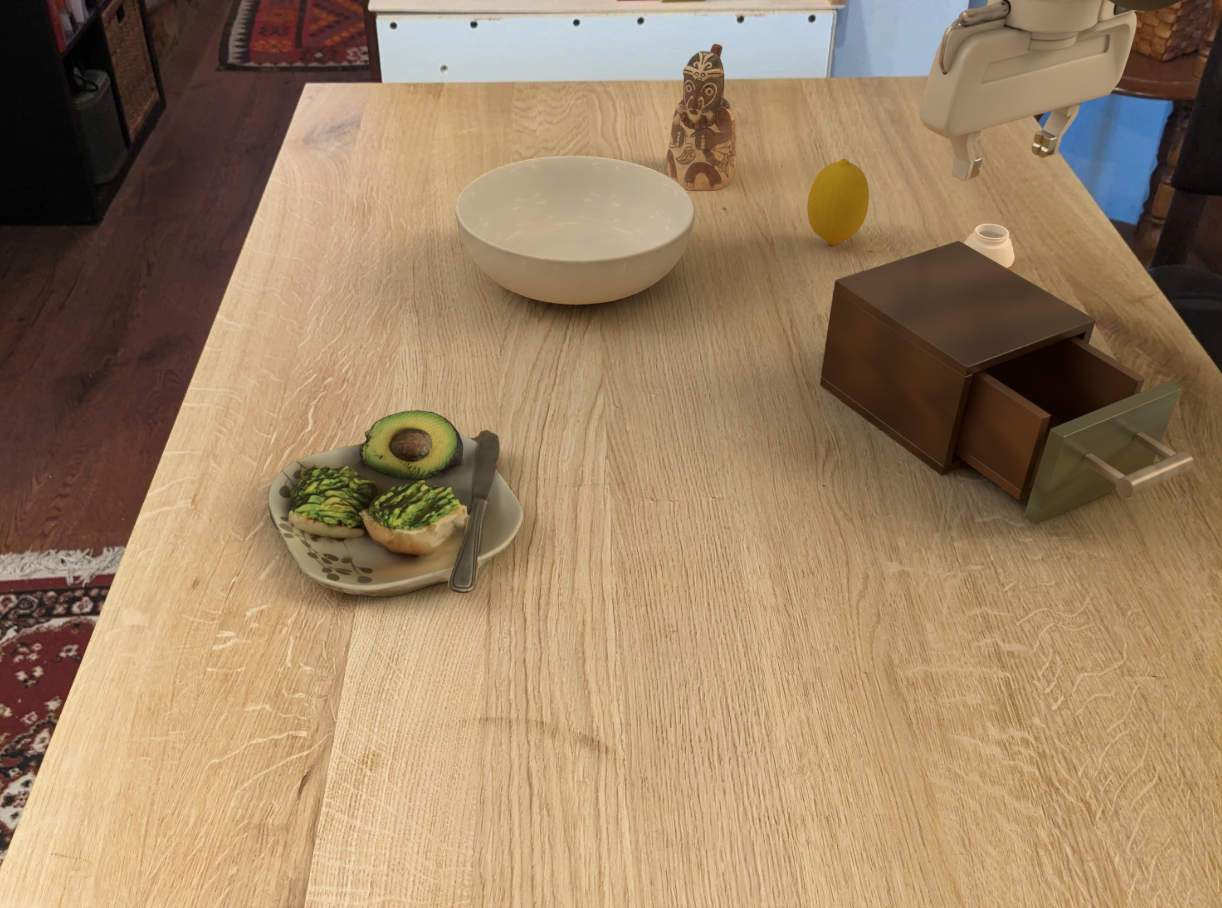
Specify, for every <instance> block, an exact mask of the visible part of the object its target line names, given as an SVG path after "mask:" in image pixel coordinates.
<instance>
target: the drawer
mask: <svg viewBox="0 0 1222 908" xmlns="http://www.w3.org/2000/svg"><path fill="white" fill-rule="evenodd" d="M1145 380H1146V377H1145V376H1143V375H1142V374H1140V373H1139V372H1136V371H1135V370H1133V369H1131V368H1130V367H1129V366H1127V365H1125V364H1123V363H1122V362H1120V361H1118V360H1117V359H1115V358H1113V357H1112V356H1110V355H1108V354H1106V353H1104V352H1103V351H1102V350H1100V349H1098V348H1097V347H1095V346H1093V345H1091V344H1090V343H1089V344H1088V343H1086V342H1085V341H1083V340H1081V339H1080V338H1078V337H1076V336H1073V337H1070V338H1068V339H1065V340H1062V341H1060V342H1057V343H1054V344H1051V345H1049V346H1046V347H1043V348H1041V349H1038V350H1035V351H1033V352H1030V353H1027V354H1024V355H1022V356H1019V357H1016V358H1014V359H1011V360H1008V361H1006V362H1003V363H1000V364H997V365H995V366H992V367H989V368H987V369H984V370H981V371H979V372H976V373H973V377H972V381H971V385H970V389H969V393H968V397H967V401H966V406H965V410H964V414H963V418H962V422H961V426H960V430H959V434H958V438H957V442H956V446H955V450H954V454H955V455H957V456H958V457H959V458H961V459H962V460H963V461H965V462H966V463H968V464H967V465H969V466H970V467H971V468H973V469H975V470H976V471H977V472H978V473H980V474H981V475H983V476H984V477H986V478H987V479H989V480H990V481H991V482H992V483H994V484H995V485H997V486H998V487H999V488H1001V489H1002V490H1003V491H1005V492H1007V494H1009V495H1010V496H1012V497H1013V498H1015V499H1016V500H1018V501H1020V500H1022V499H1025V498H1027V497H1029V498H1028V502H1027V505H1026V508H1025V511H1024V514H1023V517H1024V518H1025V519H1027V520H1028V521H1029V522H1031V524H1033V525H1036V526H1037V525H1039V524H1041V523H1044V522H1045V521H1048V520H1050V519H1053V518H1055V517H1057V516H1060V515H1062V514H1064V513H1067V512H1068V511H1070V510H1073V509H1075V508H1078V507H1080V506H1083V505H1085V504H1087V503H1089V502H1091V501H1094V500H1096V499H1098V498H1100V497H1102V496H1105V495H1108V494H1110V493H1112V492H1115V491H1116V492H1117V495H1119V496H1120V497H1121V498H1125V499H1126V498H1131V497H1133V496H1135V495H1138V494H1139V493H1141V492H1143V491H1144V492H1145V491H1146V490H1148V489H1150V488H1153V487H1155V486H1158V485H1160V484H1162V483H1164V482H1166V481H1168V480H1171V479H1173V478H1175V477H1178V476H1180V475H1182V474H1184V473H1187V472H1188V471H1189V472H1190V470H1192V468H1193V467H1194V463H1195V461H1194V457H1193V456H1192V454H1191V453H1189V452H1188V451H1185V450H1182V451H1179V452H1175V451H1174V450H1172V449H1171V448H1169V447H1167V446H1166V445H1164V444H1162V441H1163V438H1164V435H1165V433H1166V430H1167V428H1168V425H1169V422H1170V421H1171V417H1172V414H1173V412H1174V409H1175V407H1176V404H1177V401H1178V399H1179V396H1180V393H1181V391H1182V388H1180V387H1179V386H1178V385H1176V384H1174V383H1172V382H1170V381H1165V382H1162V383H1160V384H1157V385H1155V386H1153V387H1150V388H1148V389H1146V390H1143V391H1142V388H1143V385H1144V383H1145ZM1156 456H1157V457H1159V458H1160V459H1161V460H1159V461H1156V462H1154V461H1155V459H1156Z"/></svg>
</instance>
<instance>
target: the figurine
mask: <svg viewBox="0 0 1222 908" xmlns="http://www.w3.org/2000/svg"><path fill="white" fill-rule="evenodd" d="M722 52H723V46H722V45H721V44H719V43H713V44H712V45H711V47H710V51H709V50H700V51H698V52H696V53H695V54H693V56H691V57H690V58H689V61H688V62H687V64H686V65H685V66H684V67H683V69H682V75H683V86H682V89H683V90H682V99H681V101H679V103H678V105H677V106H676V108H675V110H674V114H673V118H672V123H671V130H670V138H669V144H668V149H667V153H666V156H665V159H666V163H665V164H666V165H665V169H666V172H667V176H668V177H670V178H672V179H673V180H674V181H676V182H677V183H679V184H680V185H681V186H682V187H683V188H684V189H685V190H686V191H687V190H688V191H716V190H719V189H722V188H725V187H727V186H728V185H730V184H731V183H732V181H733V179H734V177H735V174H736V170H737V164H738V163H737V162H738V157H737V156H738V153H737V150H738V149H737V130H736V118H735V114H734V111H733V108H732V106H731V104H730V103H729V101H728V100H727V99H726V98H725V97H724V94H725V71H724V65H723V61H722V59H721V56H722Z"/></svg>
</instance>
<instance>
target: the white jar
mask: <svg viewBox="0 0 1222 908" xmlns="http://www.w3.org/2000/svg"><path fill="white" fill-rule="evenodd" d="M963 243H964V244H966V245H967V246H969V247H971V248H972V249H974V250H976V251H978V252H979V253H981V254H983V255H985V256H986V257H988V258H990V259H991V260H993V261H995V262H997V263H998V264H1000V265H1002V266H1004V267H1005V268H1007V269H1009V268H1010V267H1011V266H1013V263H1014V262H1015V259H1016V255H1015V252H1014V248H1013V243H1012V240H1011V238H1010V232H1009V230H1008V229H1007V228H1006V227H1004V226H1002V225H1000V224H996V223H982V224H979V225H977V226H976V227H975V228H974V230H973V232H971V233H970V234H969V235H968V236H967V238H966V239H965V241H964V242H963Z"/></svg>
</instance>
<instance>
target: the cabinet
mask: <svg viewBox="0 0 1222 908" xmlns="http://www.w3.org/2000/svg"><path fill="white" fill-rule="evenodd" d="M831 297H832V299H831V305H830V312H829V318H828V324H827V332H826V338H825V343H824V344H825V345H824V350H823V351H824V352H823V359H822V365H821V371H820V378H819V379H820V380H819V385H820V386H821V387H822V388H823V389H825V390H826V391H828V392H829V393H830V394H832V395H833V396H834V397H836V398H837V399H838V400H839V401H840V402H842V403H844V404H845V405H847V406H848V407H849V408H850V409H852V410H853V411H854V412H856V413H857V414H859V415H860V416H861V417H862V418H864V419H865V420H867V421H868V422H869V423H871V424H873V426H874V427H876V428H878V430H880V431H882V432H883V433H884V434H886V435H887V436H888V437H890V438H891V439H892V440H894V441H895V442H896V443H897V444H899V445H901V446H902V447H903V448H904V449H906V450H907V451H908V452H910V453H911V454H912V455H914V456H915V457H916V458H918V459H919V460H920V461H922V462H923V463H924V464H926V465H927V466H929V468H931V469H933V471H936V472H937V473H938V474H939V475H941V476H943V475H945V474H947V473H950V472H953V471H955V470H957V469H960V468H963V467H965V466H967V465H969V464H968V463H966V462H965V461H963V460H962V459H961V458H959V457H958V456H957V455H955V454H954V450H955V446H956V442H957V438H958V434H959V430H960V426H961V422H962V418H963V414H964V410H965V406H966V401H967V397H968V393H969V389H970V385H971V381H972V377H973V373H976V372H979V371H981V370H984V369H987V368H989V367H992V366H995V365H997V364H1000V363H1003V362H1006V361H1008V360H1011V359H1014V358H1016V357H1019V356H1022V355H1024V354H1027V353H1030V352H1033V351H1035V350H1038V349H1041V348H1043V347H1046V346H1049V345H1051V344H1054V343H1057V342H1060V341H1062V340H1065V339H1068V338H1070V337H1073V336H1076V337H1078V338H1080V339H1081V340H1083V341H1085V342H1086V343H1088V344H1090V341H1091V337H1092V335H1093V331H1094V328H1095V324H1096V318H1094V317H1092V316H1090V315H1088V314H1087V313H1085V312H1083V311H1081V310H1080V309H1078V308H1077V307H1075V306H1073V305H1071V304H1070V303H1068V302H1066V301H1065V300H1063V299H1061V298H1059V297H1057V296H1055V295H1054V294H1052V293H1050V292H1049V291H1047V290H1045V289H1044V288H1042V287H1040V286H1038V285H1036V284H1035V283H1033V282H1031V281H1030V280H1028V279H1027V278H1024V277H1023V276H1022V275H1019V274H1018V273H1016V272H1014V271H1012V270H1011V269H1009V268H1005V267H1004V266H1002V265H1000V264H998V263H997V262H995V261H993V260H991V259H990V258H988V257H986V256H985V255H983V254H981V253H979V252H978V251H976V250H974V249H972V248H971V247H969V246H967V245H966V244H964V242H963V241H961V240H957V241H956V240H955V241H953V242H949V243H947V244H944V245H941V246H938V247H935V248H931V249H927V250H925V251H922V252H919V253H916V254H913V255H910V256H909V255H908V256H906V257H902V258H900V259H897V260H893V261H889V262H887V263H884V264H881V265H878V266H874V267H871V268H868V269H865V270H862V271H859V272H856V273H853V274H852V273H851V274H849V275H846V276H843V277H840V278H837V279H835V280H834V286H833V291H832V296H831Z"/></svg>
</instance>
